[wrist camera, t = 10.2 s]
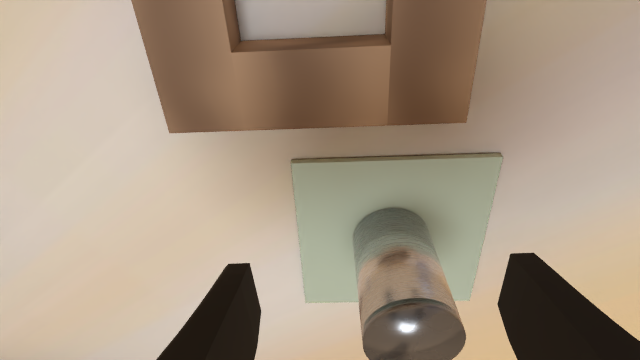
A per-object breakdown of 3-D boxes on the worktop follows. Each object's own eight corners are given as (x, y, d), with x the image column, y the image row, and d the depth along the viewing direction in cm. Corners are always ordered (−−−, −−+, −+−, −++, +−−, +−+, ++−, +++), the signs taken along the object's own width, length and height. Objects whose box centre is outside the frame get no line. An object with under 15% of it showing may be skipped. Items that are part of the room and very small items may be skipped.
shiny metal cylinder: (415, 197, 21) (451, 297, 16) (437, 252, 24) (475, 358, 18) (340, 223, 22) (347, 326, 17) (368, 273, 25) (382, 380, 19)
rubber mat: (500, 153, 20) (503, 156, 20) (467, 295, 26) (469, 300, 26) (291, 159, 21) (290, 163, 20) (305, 298, 27) (305, 302, 26)
